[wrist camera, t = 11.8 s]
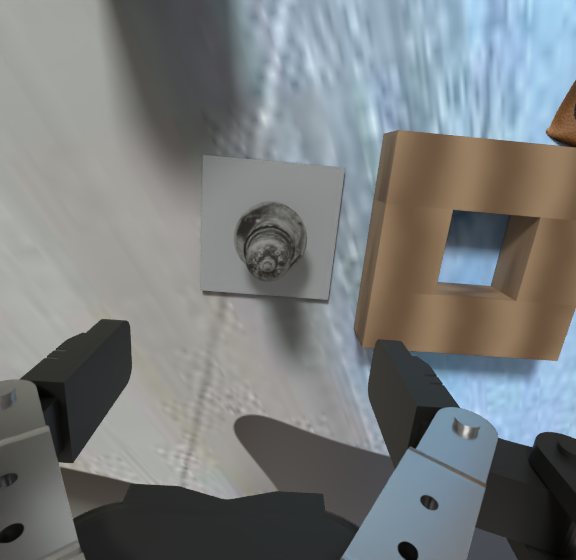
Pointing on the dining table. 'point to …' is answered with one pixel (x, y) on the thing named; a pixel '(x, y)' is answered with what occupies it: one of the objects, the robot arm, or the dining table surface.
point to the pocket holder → (432, 239)
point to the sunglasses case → (565, 120)
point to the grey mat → (257, 189)
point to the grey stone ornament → (270, 240)
